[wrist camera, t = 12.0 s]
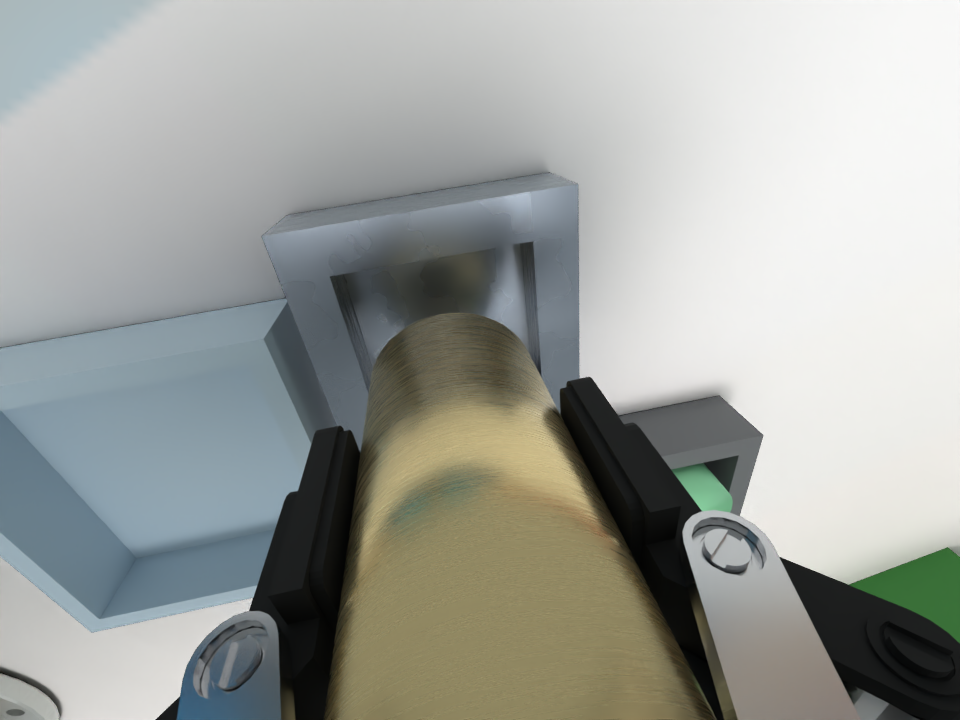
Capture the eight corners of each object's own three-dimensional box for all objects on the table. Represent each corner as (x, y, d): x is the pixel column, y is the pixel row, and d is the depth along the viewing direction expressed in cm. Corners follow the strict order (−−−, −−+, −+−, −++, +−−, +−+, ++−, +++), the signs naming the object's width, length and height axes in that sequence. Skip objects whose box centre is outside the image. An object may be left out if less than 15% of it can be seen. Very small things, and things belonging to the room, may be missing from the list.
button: (623, 503, 24) (649, 550, 21) (627, 451, 22) (657, 496, 19) (690, 488, 24) (724, 533, 21) (700, 436, 22) (739, 478, 19)
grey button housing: (590, 510, 25) (613, 558, 23) (592, 421, 22) (618, 465, 19) (700, 486, 26) (735, 531, 23) (719, 395, 22) (763, 435, 19)
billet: (349, 330, 11) (174, 981, 3) (528, 297, 12) (860, 795, 3) (392, 462, 14) (370, 1012, 5) (538, 433, 14) (734, 908, 6)
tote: (134, 562, 22) (91, 632, 19) (-56, 357, 15) (-168, 416, 12) (374, 512, 23) (369, 572, 20) (290, 297, 16) (263, 338, 13)
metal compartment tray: (562, 496, 24) (580, 541, 22) (399, 531, 24) (399, 581, 21) (549, 172, 15) (578, 184, 13) (286, 215, 15) (261, 236, 12)
